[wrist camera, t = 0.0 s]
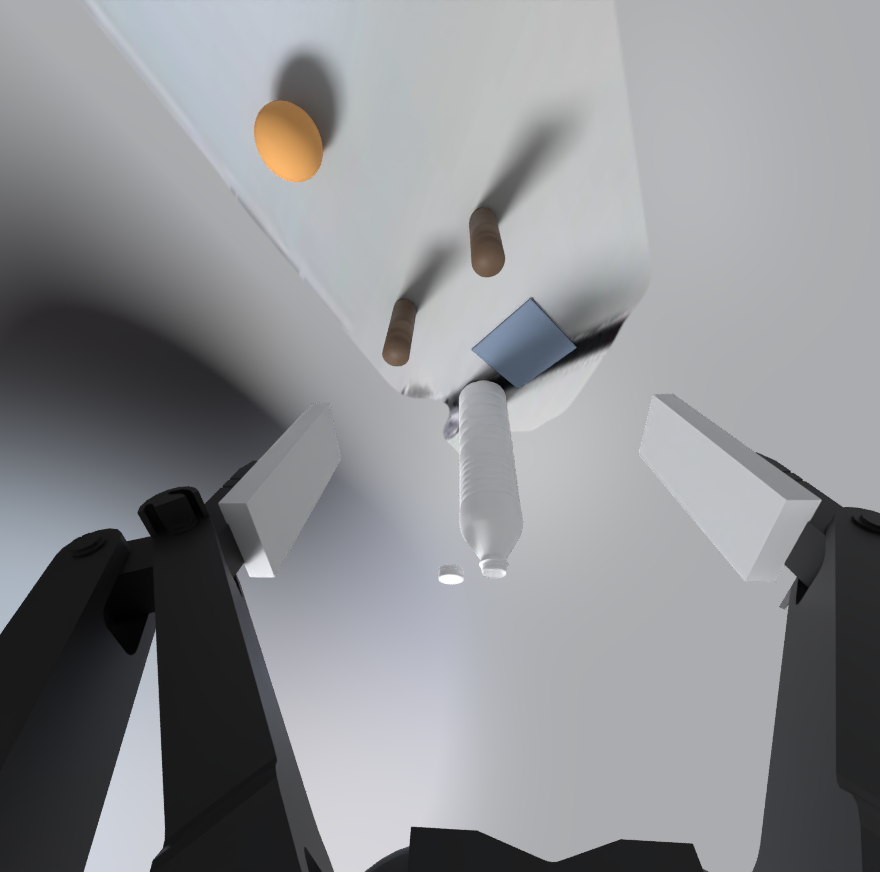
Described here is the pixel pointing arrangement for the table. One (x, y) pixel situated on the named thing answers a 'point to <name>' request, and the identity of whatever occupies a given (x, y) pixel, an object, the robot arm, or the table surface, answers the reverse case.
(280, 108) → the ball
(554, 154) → the table surface
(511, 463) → the water bottle
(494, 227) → the near post
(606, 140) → the table surface
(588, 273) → the table surface
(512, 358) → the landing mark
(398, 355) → the far post
